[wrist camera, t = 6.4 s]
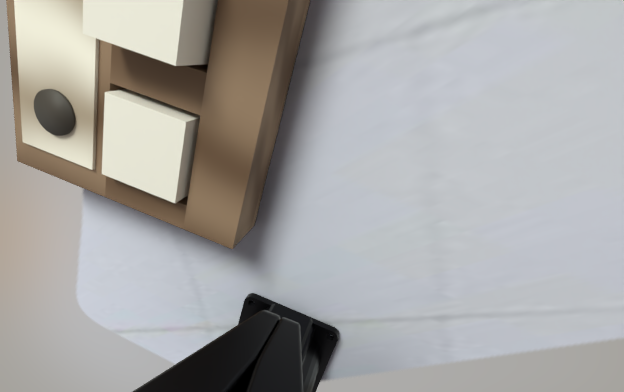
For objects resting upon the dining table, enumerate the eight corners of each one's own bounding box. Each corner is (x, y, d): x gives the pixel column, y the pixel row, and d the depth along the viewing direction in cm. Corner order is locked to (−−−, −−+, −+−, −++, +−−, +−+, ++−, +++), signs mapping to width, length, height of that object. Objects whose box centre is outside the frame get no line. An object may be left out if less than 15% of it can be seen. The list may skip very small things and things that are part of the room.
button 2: (205, 184, 22) (175, 203, 19) (140, 159, 22) (101, 174, 19) (217, 112, 20) (186, 122, 17) (146, 86, 20) (104, 91, 18)
